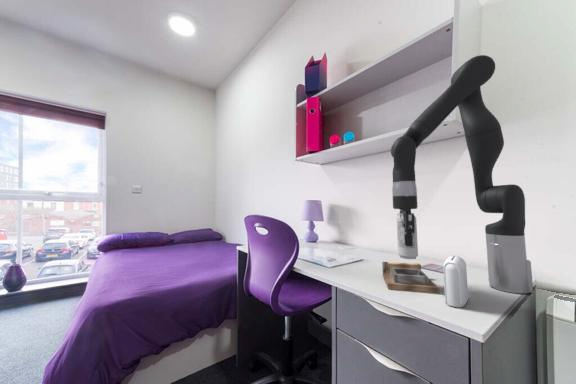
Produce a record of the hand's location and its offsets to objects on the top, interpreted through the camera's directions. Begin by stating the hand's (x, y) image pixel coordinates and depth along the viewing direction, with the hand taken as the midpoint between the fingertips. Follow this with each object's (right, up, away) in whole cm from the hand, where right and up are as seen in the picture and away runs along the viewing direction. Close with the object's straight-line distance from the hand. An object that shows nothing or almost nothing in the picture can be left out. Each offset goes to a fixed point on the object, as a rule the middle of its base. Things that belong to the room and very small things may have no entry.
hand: (406, 244), depth 77 cm
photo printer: (+7, -13, -14) cm, 20 cm away
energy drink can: (0, -5, 0) cm, 5 cm away
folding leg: (+2, -14, +7) cm, 16 cm away
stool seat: (0, -14, -1) cm, 14 cm away
